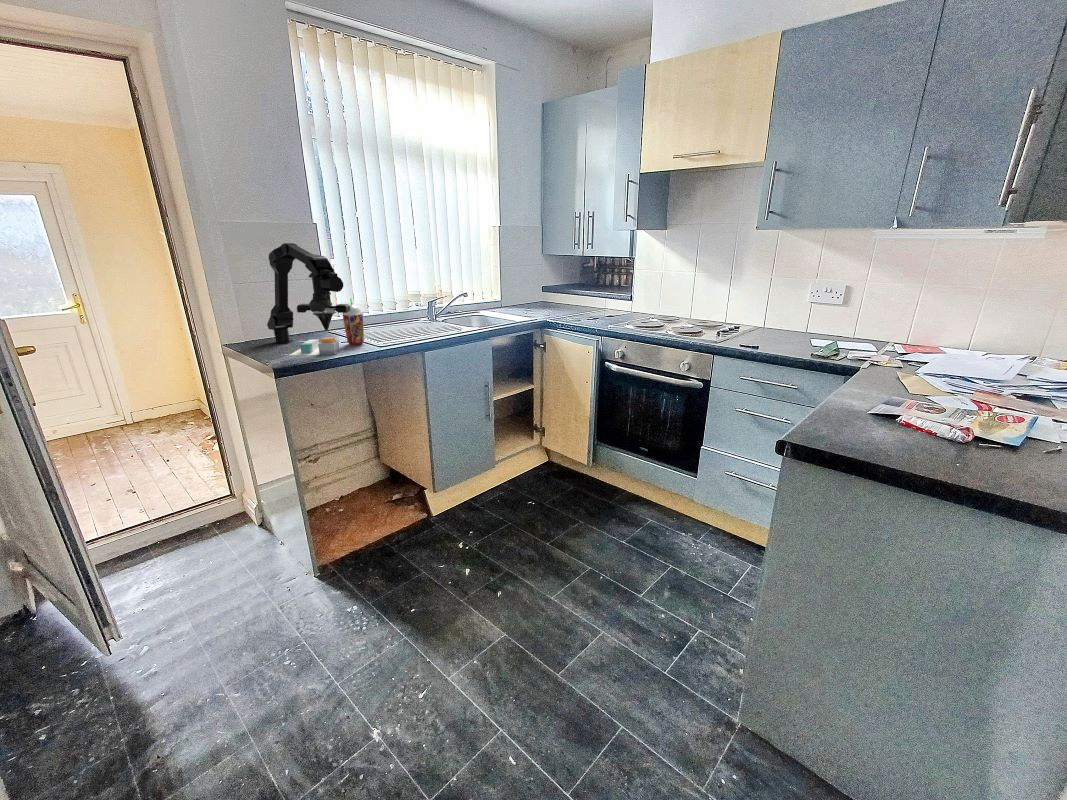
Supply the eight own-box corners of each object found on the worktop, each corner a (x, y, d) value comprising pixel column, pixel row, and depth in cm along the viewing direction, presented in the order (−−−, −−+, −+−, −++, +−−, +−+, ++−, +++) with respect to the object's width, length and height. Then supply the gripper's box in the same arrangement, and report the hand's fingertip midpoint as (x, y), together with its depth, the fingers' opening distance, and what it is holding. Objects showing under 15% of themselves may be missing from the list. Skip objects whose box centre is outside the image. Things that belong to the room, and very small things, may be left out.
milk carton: (310, 347, 196) (309, 339, 195) (319, 347, 196) (318, 339, 195) (301, 353, 186) (300, 344, 185) (310, 353, 187) (309, 344, 186)
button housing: (324, 351, 191) (323, 340, 189) (339, 351, 191) (338, 340, 190) (319, 354, 185) (318, 343, 184) (335, 354, 186) (333, 343, 184)
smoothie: (364, 346, 201) (359, 299, 194) (344, 346, 199) (338, 299, 193) (367, 342, 208) (362, 297, 202) (348, 342, 207) (342, 297, 201)
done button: (325, 344, 189) (324, 337, 188) (335, 344, 189) (334, 337, 188) (321, 346, 185) (320, 339, 184) (332, 346, 186) (331, 339, 185)
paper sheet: (304, 346, 199) (304, 346, 198) (330, 346, 199) (330, 346, 199) (288, 355, 183) (288, 355, 183) (317, 355, 184) (317, 355, 184)
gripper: (287, 292, 172) (294, 333, 177) (339, 292, 173) (344, 333, 179) (299, 289, 182) (305, 328, 188) (348, 289, 184) (352, 328, 189)
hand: (326, 330), depth 185 cm, fingers closed
